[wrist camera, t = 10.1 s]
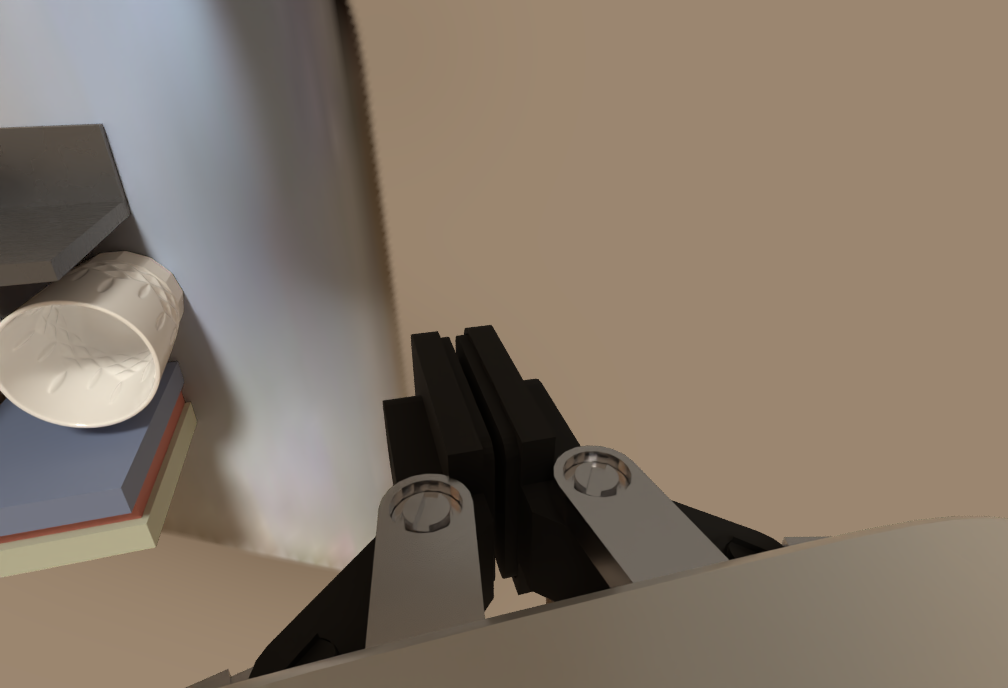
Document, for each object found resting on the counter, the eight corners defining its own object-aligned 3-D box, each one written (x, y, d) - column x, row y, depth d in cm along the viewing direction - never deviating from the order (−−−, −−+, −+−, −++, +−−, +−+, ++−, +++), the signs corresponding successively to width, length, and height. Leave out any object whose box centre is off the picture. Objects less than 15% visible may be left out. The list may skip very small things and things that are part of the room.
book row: (21, 381, 40) (-107, 526, 28) (177, 361, 43) (120, 487, 31) (51, 444, 43) (-55, 601, 31) (197, 422, 45) (151, 560, 33)
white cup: (164, 364, 43) (124, 447, 34) (41, 316, 39) (-38, 395, 30) (214, 278, 41) (184, 342, 32) (90, 218, 37) (19, 273, 28)
